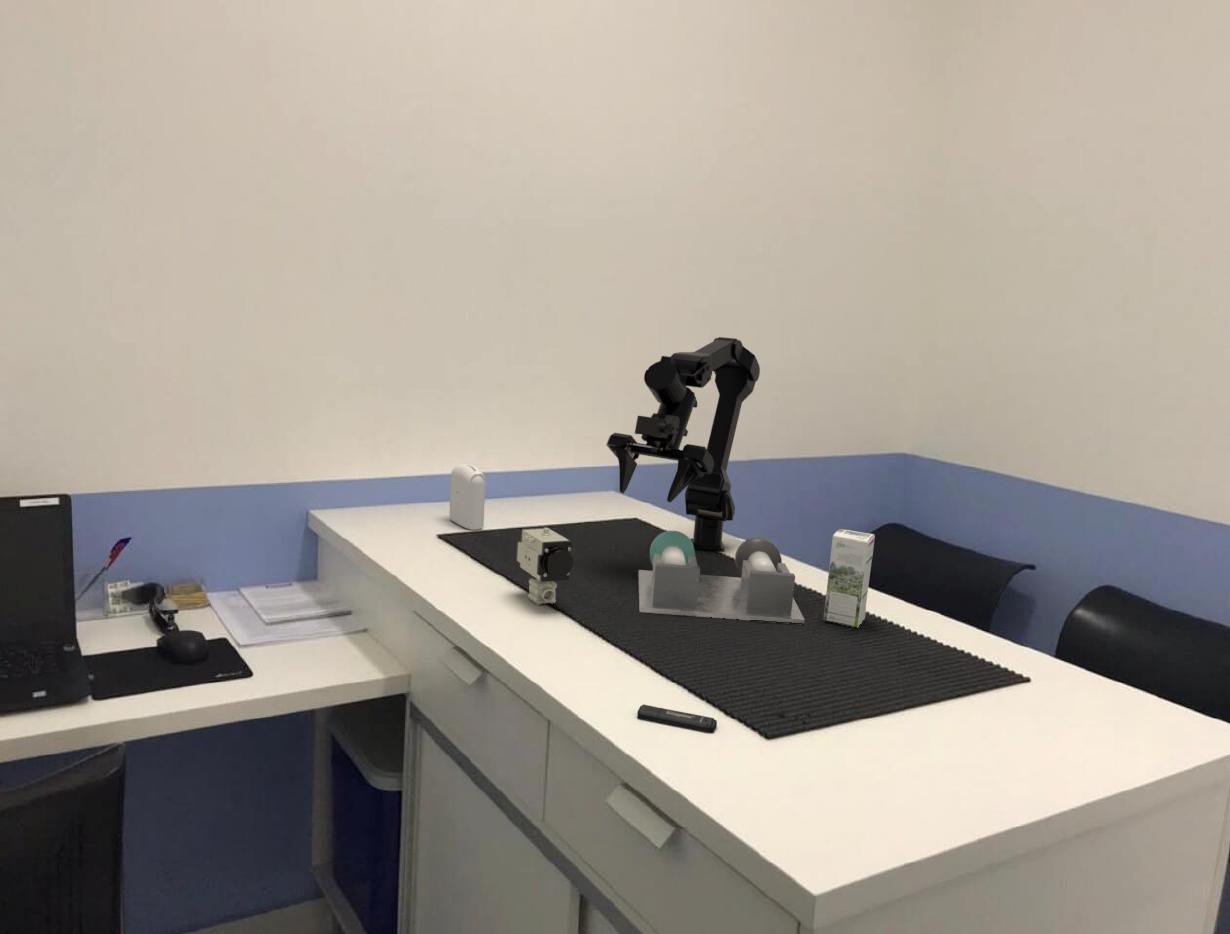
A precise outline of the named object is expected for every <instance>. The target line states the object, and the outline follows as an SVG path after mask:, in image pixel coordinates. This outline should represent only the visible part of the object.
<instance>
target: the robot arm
mask: <svg viewBox="0 0 1230 934" xmlns="http://www.w3.org/2000/svg"><path fill="white" fill-rule="evenodd" d="M760 370H761V367H760V364H759V361H758V359H757V357H756V355H755V354H754V353H753V352H752V351H749V349H747V348H746V347H744V345H743V342H742V341H741V340H740V339H738V338H734V337H733V338H732V337H724V336H718V337H715V338H714V339H713V341H711V342H710V343H708V344H706V345H704V346H702V347H701V348H699V349H697V350H695V351H691V352H689V351H678V352H674V353H673V354H672V355H671V356H668V355H661V358H660V360H659V361H657V362H654V363H653V364H651V365H650V366H649V367H648V368H647V369H646V370H645V372H644V377H643V381H644V383H645V386H646V387H647V388H648V389H649V391H650V392H651V394H652V395H653V398H654V399H655V400H656V401H657V403H659V407H658V410H657V412H656V413H655V412H654V413H653V414H652V415H651V416H645V415H637V418H636V424H635V427H634V429H635V430H634V434H635V435H641V437H640V438H641V440H642V441H644V442H646V444H645V443H641V442H637V440H636V439H635V438H634V437H633V436H632V435H631V434H626V433H625V434H624V433H620V432H613V433H612V434H610V435H609V437H608V439H607V442H606V445H605V446H606V447H608V449H609V450H610V451H611V452H612V454H613V455H614V456H615V457H616V458H617V460H618V467H619V468H618V469H619V492H620V494H624V493H626V491H627V488H628V487H629V485H630V482H631V480H632V477H633V475H634V473H635V471H636V468H637V465H638V463H637V462H636V460H637V459H639V457H640V455H641V456H647V457H651V458H652V457H653V458H659V459H665V460H670V461H671V460H672V461H677V468H676V472H675V476H674V478H673V481H672V482H671V485H670V488H669V490H668V493H667V497H666V498H667V499H666V501H667V502H668V503H672V502H673V501H674V500H675V499H676V498H677V497H678V496H679V495H680V494H681V493H682V491H684V490H685V493H684V501H685V502H684V503H685V514H686V515H688V516H689V515H691V516H695V517H694V527H693V538H689V539H690V540H691V542H692V544H693V546H694V550H696V549H697V550H710V551H711V550H712V551H725V546H724V544H723V543H724V542H723V541H722V540H723V531H724V522H727V521H729V522H730V521H734V515H735V511H736V506H735V503H734V500H733V497H732V494H731V489H732V488H731V487H732V484H731V482H730V478H729V476H728V473H727V468H728V466H729V465H728V464H729V460H730V455H731V452H732V451H731V450H732V448H733V443H734V439H735V434H736V430H737V426H738V421H739V417H740V413H741V408H742V404H743V402H744V401H745V400H746V399H747V398H748V397H749V396H750V395H751V394H752V393H753V391H754V389H755V385H756V382H758V380H759V378H760V373H761V371H760ZM713 373H714V375H715V377H714V383H715V386H716V388H717V392H718V398H717V399H718V401H717V405H716V407H715V408H716V410H715V413H714V417H713V420H712V421H713V422H712V426H711V429H710V430H711V431H710V434H709V438H708V443H707V447H706V446H703V445H696V444H690V443H687V444H685V445H684V446H683V447H682V449H680V447H681V443H682V441H683V438H684V437H687V436H688V434H689V430H688V429H687V426H688V423H689V421H690V419H691V418H690V417H691V415H692V412H693V409H694V408H698V399H697V397H696V394H695V392H694V391H693V390H692V389H691V388H699V389H700V388H701V389H703V388H704V387H705V386H706V385H707V384H708V383H709V382H710V381H711V380H712V375H713ZM690 387H691V388H690Z"/></svg>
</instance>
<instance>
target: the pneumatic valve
mask: <svg viewBox="0 0 1230 934" xmlns="http://www.w3.org/2000/svg"><path fill="white" fill-rule="evenodd" d="M515 547H516V549H515V560H516V561H517V562H518V567H519V568H521V570H523V571H525V572H527V573H528V574H529V575H530V576H532V577H534V578H532V577H531V578H529V580H528V584H529V585H528V589H529V590H528V592H529V593H528V595H527V598H528V599H529V600H530V601H532V602H533V603H534V604H535V605H536V606H540V605H542V604H549V603H550V604H551V605H553V603H554V604H555V603H556V599H557V598H556V596H557V594H556V588H557V586H558V584H557V583H556V582H559V581H569V580H570V572H571V571H572V570H573V565H574V558H573V555H572V541H571V540H570V539H567V538H566V537H564V536H563V535H561V534H559V533H557V532H556V531H553V530H552V529H550V528H549V527H537V528H536V527H533V528H520V537H519V540H516V546H515Z"/></svg>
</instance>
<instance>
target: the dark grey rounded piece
mask: <svg viewBox="0 0 1230 934" xmlns="http://www.w3.org/2000/svg"><path fill="white" fill-rule="evenodd" d="M734 556H735V557H734V561H735V562H734V563H735V566H736V568H737V569H736V570H737V572H738V573H739V576H741V577H742V567H743V560H747V561H751V563H752V566H753V568H754V570H755V571H767V572H777V565H778V563H783V562H782V561H783V560H782V556H781V553H780V551H779V549H778V547H777V546H776V545H775V543H774V542H772V541H771V540H769V539H767V538H765V537H762V536H761V537H760V536H755V537H750V538H748V539H746V540H743V542H742V543H741V544H740V545H739V546H738V548H737V550H736V552H735V555H734Z"/></svg>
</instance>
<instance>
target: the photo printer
mask: <svg viewBox="0 0 1230 934" xmlns="http://www.w3.org/2000/svg"><path fill="white" fill-rule="evenodd" d="M486 484H487V483H486V478H485V475H484V474H483V472H482V471H481V469H479V468H478V467H476V466H475V465H473V464H470V463H465V464H464V463H459V464H457V465H456V466H454V467H453V468H452V470H451V473H450V490H449V491H450V492H449V494H450V496H449V520H450V521H452V522H454V523H455V524H457V525H459V526H461V527H463V528H465V529H466V530H467V529H468V530H470V531H471V530H472V531H478V530H481V529H482V528H483V527H484V524H485V523H484V522H485V503H486Z"/></svg>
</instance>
